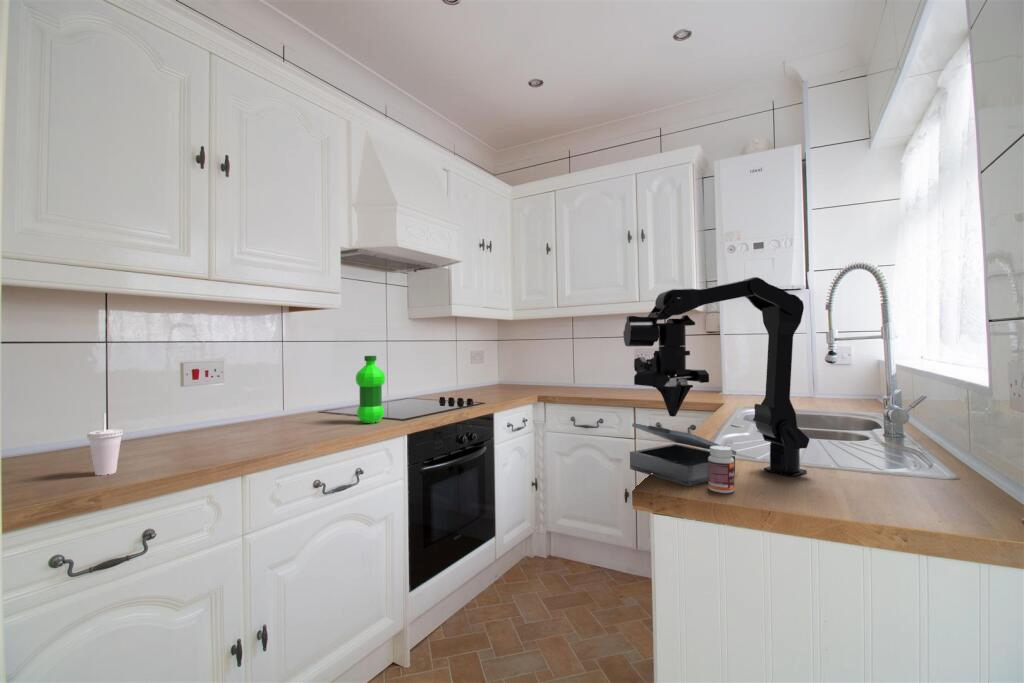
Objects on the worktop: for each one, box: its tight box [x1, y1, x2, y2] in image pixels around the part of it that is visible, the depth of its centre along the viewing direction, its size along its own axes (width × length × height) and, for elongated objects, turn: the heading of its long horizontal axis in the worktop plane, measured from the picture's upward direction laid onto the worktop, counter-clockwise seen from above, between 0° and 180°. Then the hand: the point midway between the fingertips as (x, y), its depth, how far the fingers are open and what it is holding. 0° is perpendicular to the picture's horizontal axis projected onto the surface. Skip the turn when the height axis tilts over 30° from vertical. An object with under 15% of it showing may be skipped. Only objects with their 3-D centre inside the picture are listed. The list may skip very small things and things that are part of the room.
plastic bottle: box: [355, 355, 386, 424], centre depth 178 cm, size 10×10×25 cm
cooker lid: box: [631, 422, 737, 456], centre depth 108 cm, size 17×16×1 cm
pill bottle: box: [707, 445, 735, 494], centre depth 95 cm, size 5×5×8 cm
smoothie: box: [86, 412, 124, 477], centre depth 110 cm, size 6×6×14 cm
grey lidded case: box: [629, 443, 736, 487], centre depth 108 cm, size 16×16×4 cm
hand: (672, 416), depth 106 cm, fingers closed
